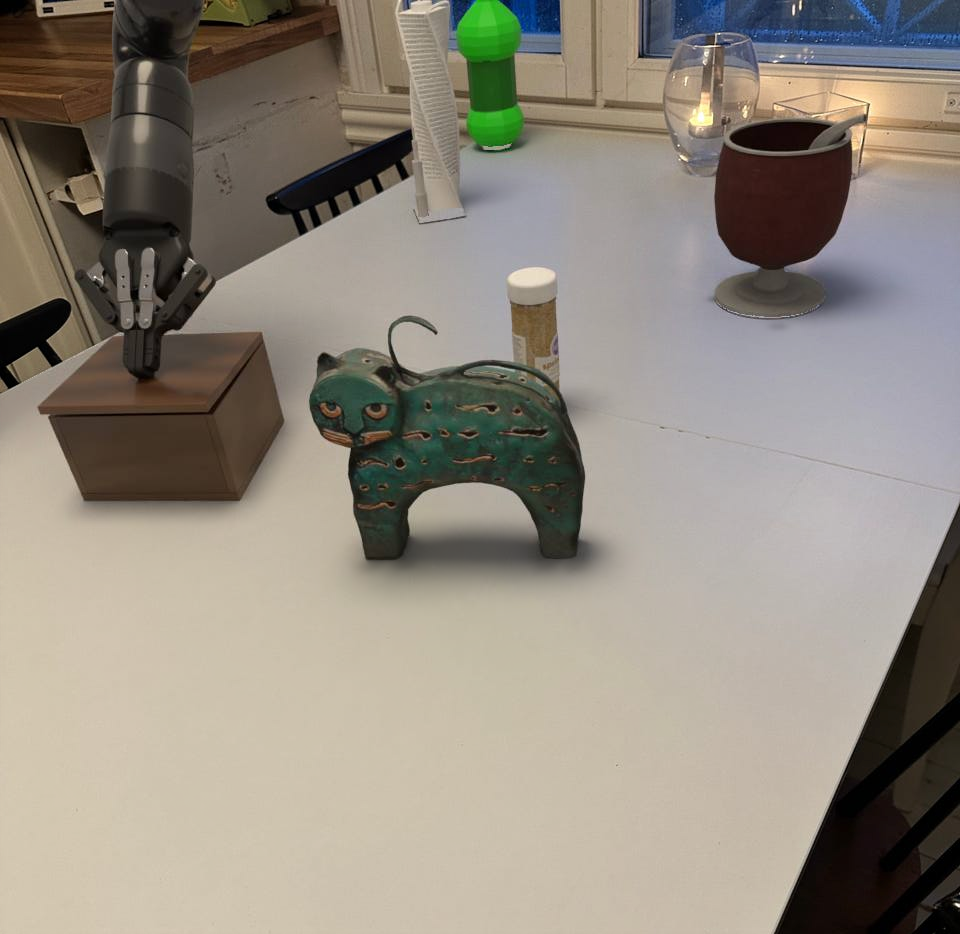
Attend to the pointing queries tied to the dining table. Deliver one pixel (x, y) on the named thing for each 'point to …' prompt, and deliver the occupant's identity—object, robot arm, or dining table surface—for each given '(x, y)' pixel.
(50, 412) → the lid
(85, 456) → the chest
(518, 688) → the dining table surface
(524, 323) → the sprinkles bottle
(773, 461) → the dining table surface
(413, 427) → the ceramic cat
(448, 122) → the skyscraper
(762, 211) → the mate gourd
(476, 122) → the plastic bottle
